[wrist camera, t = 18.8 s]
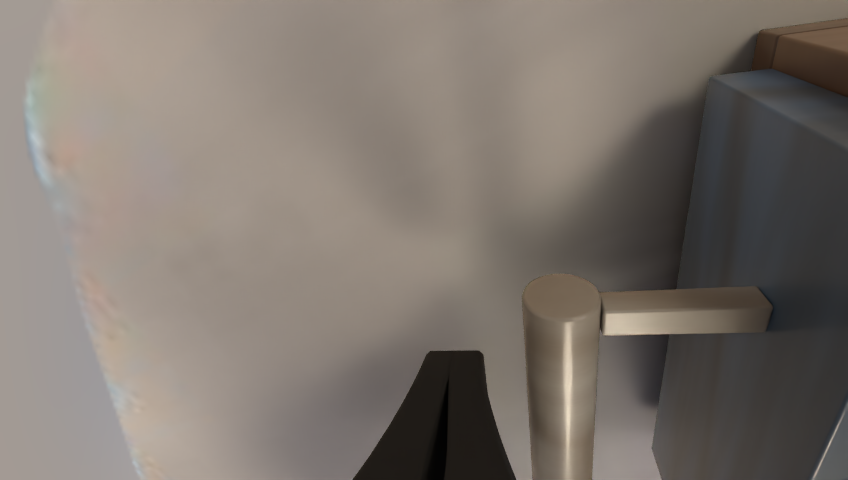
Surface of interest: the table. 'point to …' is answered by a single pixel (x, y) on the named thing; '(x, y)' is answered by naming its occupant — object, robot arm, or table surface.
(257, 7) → the table surface
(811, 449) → the drawer
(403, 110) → the table surface
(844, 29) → the cabinet
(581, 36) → the table surface
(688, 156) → the table surface
